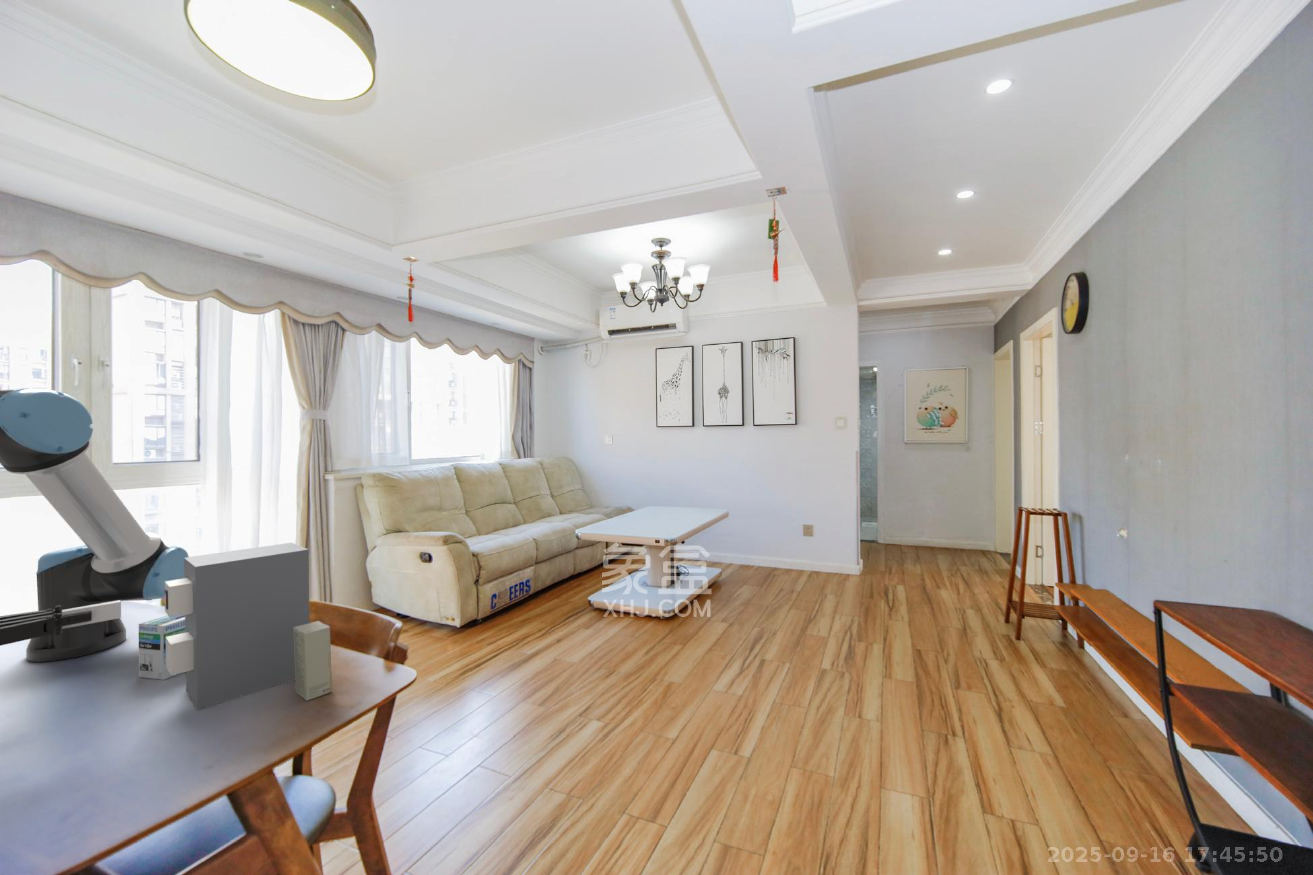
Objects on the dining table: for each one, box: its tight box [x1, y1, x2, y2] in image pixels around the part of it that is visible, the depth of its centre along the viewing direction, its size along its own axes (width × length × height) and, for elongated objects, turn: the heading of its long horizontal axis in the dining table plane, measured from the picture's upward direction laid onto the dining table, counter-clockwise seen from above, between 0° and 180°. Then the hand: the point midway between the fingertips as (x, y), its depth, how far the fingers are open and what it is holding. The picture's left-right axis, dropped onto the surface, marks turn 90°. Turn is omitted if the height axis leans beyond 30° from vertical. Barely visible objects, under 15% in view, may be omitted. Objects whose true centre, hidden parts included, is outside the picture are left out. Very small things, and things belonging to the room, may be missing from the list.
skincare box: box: [293, 620, 333, 701], centre depth 96 cm, size 6×4×12 cm
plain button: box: [166, 632, 194, 676], centre depth 93 cm, size 5×6×5 cm
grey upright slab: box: [184, 542, 311, 711], centre depth 100 cm, size 11×17×25 cm, turn 140°
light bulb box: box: [138, 614, 185, 681], centre depth 107 cm, size 11×7×11 cm, turn 168°
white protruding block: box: [164, 578, 193, 618], centre depth 93 cm, size 5×6×5 cm
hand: (120, 608), depth 87 cm, fingers closed
